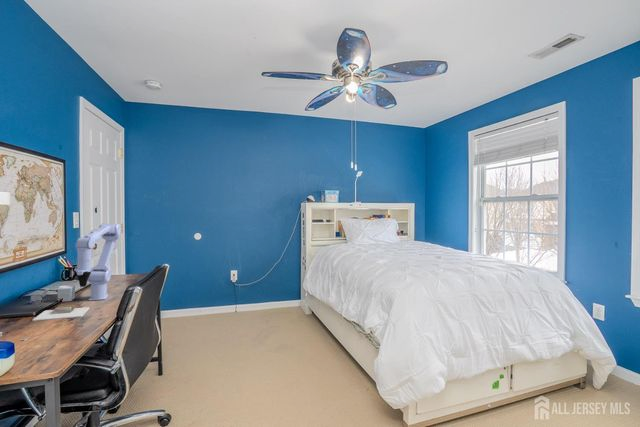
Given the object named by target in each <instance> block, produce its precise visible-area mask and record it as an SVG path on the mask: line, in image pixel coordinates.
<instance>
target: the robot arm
mask: <svg viewBox="0 0 640 427" xmlns="http://www.w3.org/2000/svg"><path fill="white" fill-rule="evenodd" d="M121 233H122V226H121V225H120V224H119V223H101V224H100V225H99V227H98V229H97V230H96V231H94V230H93V231H92V230H91V231H90V232H89V233H88V234H86V235H85V236H84V237H79V238H77V239H76V241H75V248H76V252H77V262H76V264H77V265H76V266H77V267H76V268H74V272H76V274H75V276H76V277H77V279H78V283H79V287H80V288H81V287H82V288H83V287H84V288H85V287H86V286H87V284H88V282H89V284H90V297H89V299H88V301H98V300H99V301H100V300H101V301H102V300H106V299H107V298H108V297H109V294H108V283H109V281H110V280H111V277H112V269H111V268H110V267H109V263H110V260H111V257H112V254H113V251H114V247H115V245H116V242H117V240H118V239H119V238H120V235H121ZM101 239H103V240H105V242H104V244H103V247H102V251H101V254H100V256H99V259H98V262H97V265H94V266H93V267H92V251H93V250H92V249H94V247H95V244H97V242H98V241H100V240H101Z"/></svg>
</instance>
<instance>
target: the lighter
mask: <svg viewBox="0 0 640 427" xmlns="http://www.w3.org/2000/svg"><path fill="white" fill-rule="evenodd" d="M49 291H50V288H47V287H46V288H45V289H44V290H43V293H42V294H40V293H34V294H32V295H31V296H30V302H31V301H36V300H42V301H43V297H45V296H46V295H47V294H48V292H49Z"/></svg>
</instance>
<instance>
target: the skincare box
mask: <svg viewBox="0 0 640 427" xmlns="http://www.w3.org/2000/svg"><path fill="white" fill-rule="evenodd" d="M75 295H76V285H62V286H60V287H58V288H57V299H58V298H63V300H62V302H71V301H73V300H74V299H75V298H76V296H75Z"/></svg>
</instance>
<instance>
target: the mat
mask: <svg viewBox="0 0 640 427" xmlns="http://www.w3.org/2000/svg"><path fill="white" fill-rule="evenodd" d="M88 310H90V307H88V306H87V307H86V306H85V307H77V308H75V309H74V310H73V311H72V312H71V313H59V314H55V309H47V310H44V311H42V312H41V313H39V314H38V315H37V316H36V317H34V318H33V319H31V320H32V321H31V322H37V321H50V320H59V319H60V320H61V319H71V318H72V319H73V318H81V317H83V316H84V315H85V314H86V313H87V312H88Z"/></svg>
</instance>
